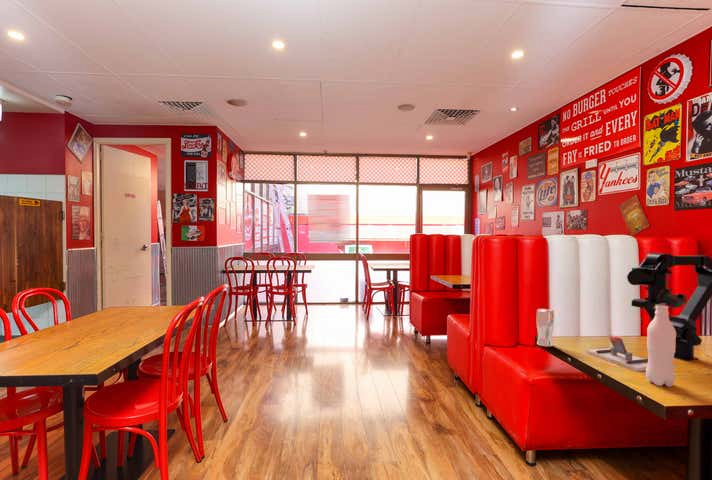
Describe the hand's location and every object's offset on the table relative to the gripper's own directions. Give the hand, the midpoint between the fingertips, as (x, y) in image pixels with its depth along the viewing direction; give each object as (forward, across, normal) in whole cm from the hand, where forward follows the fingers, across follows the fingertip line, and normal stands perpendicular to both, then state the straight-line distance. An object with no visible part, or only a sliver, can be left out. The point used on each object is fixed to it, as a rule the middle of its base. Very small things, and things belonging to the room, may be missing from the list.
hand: (656, 325), depth 140 cm
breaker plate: (+13, -16, +1) cm, 21 cm away
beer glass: (+13, -30, +24) cm, 41 cm away
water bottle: (+13, -25, -19) cm, 34 cm away
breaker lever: (+10, -16, +1) cm, 19 cm away
